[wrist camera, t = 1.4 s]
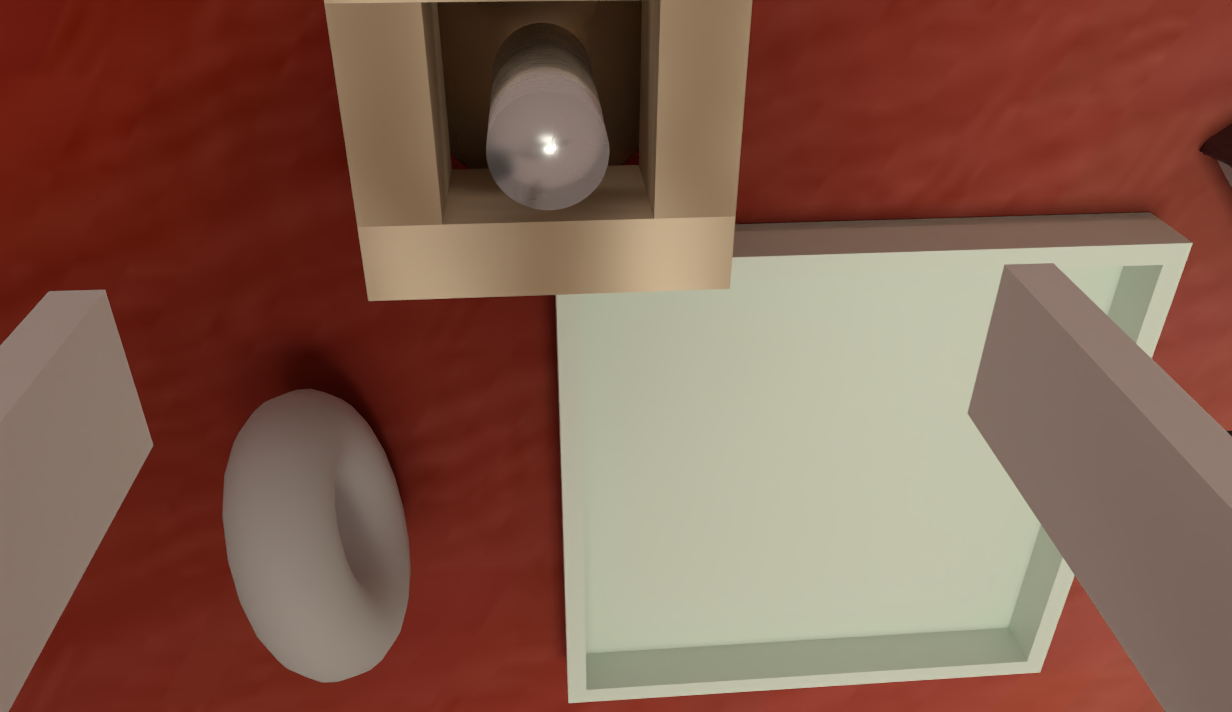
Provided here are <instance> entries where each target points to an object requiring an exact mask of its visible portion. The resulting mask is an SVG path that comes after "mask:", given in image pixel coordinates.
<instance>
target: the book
mask: <svg viewBox="0 0 1232 712" xmlns="http://www.w3.org/2000/svg"><path fill="white" fill-rule="evenodd" d="M1200 151H1201V152H1203V154H1204V155H1206V154H1207V155H1209V156H1211V157H1213V158H1214V159H1216V160H1217V161H1218V163H1219V165H1220V167H1221V169H1222V171H1223V173H1224V174H1225V176H1226V178H1227V180H1228V182H1229V184H1230V186H1231V188H1232V124H1231V125H1229V126H1228V127H1226V128H1225V129H1223V130H1222V131H1220V132H1219V133H1217V134H1216V135H1214V136H1213V137H1211V138H1210V139H1209V140H1208V141H1207V142H1206V143H1205V144H1204V146H1203V147H1202V148H1201V150H1200Z"/></svg>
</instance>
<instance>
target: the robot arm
mask: <svg viewBox="0 0 1232 712" xmlns="http://www.w3.org/2000/svg"><path fill="white" fill-rule="evenodd" d="M967 414H968V415H969V417H970V418H971V420H972V421H973V423H974V424H975V426H976V427H977V429H978V430H979V432H980V433H981V435H982V436H983V438H984V439H985V441H986V442H987V444H988V445H989V447H990V448H991V450H992V451H993V453H994V454H995V456H996V457H997V459H998V460H999V462H1000V463H1001V465H1002V466H1003V468H1004V469H1005V471H1006V472H1007V474H1008V475H1009V477H1010V478H1011V480H1012V482H1013V483H1014V485H1015V486H1016V488H1017V489H1018V491H1019V492H1020V494H1021V495H1022V497H1023V498H1024V500H1025V501H1026V503H1027V504H1028V506H1029V507H1030V509H1031V510H1032V512H1033V513H1034V515H1035V516H1036V518H1037V519H1038V521H1039V522H1040V524H1041V525H1042V527H1043V528H1044V530H1045V531H1046V533H1047V534H1048V536H1049V537H1050V539H1051V540H1052V542H1053V543H1054V545H1055V546H1056V548H1057V549H1058V551H1059V552H1060V554H1061V555H1062V557H1063V558H1064V560H1065V561H1066V563H1067V564H1068V566H1069V567H1070V569H1071V570H1072V572H1073V573H1074V575H1075V576H1076V578H1077V579H1078V581H1079V582H1080V584H1081V585H1082V587H1083V588H1084V590H1085V591H1086V593H1087V594H1088V596H1089V597H1090V599H1091V600H1092V602H1093V603H1094V605H1095V607H1096V608H1097V610H1098V611H1099V613H1100V614H1101V616H1102V617H1103V619H1104V620H1105V622H1106V623H1107V625H1108V626H1109V628H1110V629H1111V631H1112V632H1113V634H1114V635H1115V637H1116V638H1117V640H1118V641H1119V643H1120V644H1121V646H1122V647H1123V649H1124V650H1125V652H1126V653H1127V655H1128V656H1129V658H1130V659H1131V661H1132V662H1133V664H1134V665H1135V667H1136V668H1137V670H1138V671H1139V673H1140V674H1141V676H1142V677H1143V679H1144V680H1145V682H1146V683H1147V685H1148V686H1149V688H1150V689H1151V691H1152V692H1153V694H1154V695H1155V697H1156V698H1157V700H1158V701H1159V703H1160V704H1161V706H1162V707H1163V709H1164V710H1165V712H1232V431H1226V430H1225V429H1223V428H1222V427H1221V426H1220V425H1219V424H1218V423H1217V422H1216V421H1215V420H1214V419H1213V418H1212V417H1211V416H1210V415H1209V414H1208V413H1207V412H1206V411H1205V410H1204V409H1203V408H1202V407H1201V406H1200V405H1199V404H1198V403H1197V402H1196V401H1195V400H1194V399H1193V398H1192V397H1191V396H1190V395H1189V394H1187V393H1186V392H1185V391H1184V390H1183V389H1182V388H1181V387H1180V386H1179V385H1178V384H1177V383H1176V382H1175V381H1174V380H1173V379H1172V378H1171V377H1170V376H1169V375H1168V374H1167V373H1166V372H1165V371H1164V370H1163V369H1162V368H1161V367H1160V366H1159V365H1158V364H1157V363H1156V362H1155V361H1154V360H1152V359H1151V358H1150V357H1149V356H1148V355H1147V354H1146V353H1145V352H1144V351H1143V350H1142V349H1141V348H1140V347H1139V346H1138V345H1137V344H1136V343H1135V342H1134V341H1133V340H1132V339H1131V338H1130V337H1129V336H1128V335H1127V334H1126V333H1125V332H1124V331H1123V330H1122V329H1121V328H1120V327H1119V326H1118V325H1116V324H1115V323H1114V322H1113V321H1112V320H1111V319H1110V318H1109V317H1108V316H1107V315H1106V314H1105V313H1104V312H1103V311H1102V310H1101V309H1100V308H1099V307H1098V306H1097V305H1096V304H1095V303H1094V302H1093V301H1092V300H1091V299H1090V298H1089V297H1088V296H1087V295H1086V294H1085V293H1084V292H1083V291H1082V290H1080V289H1079V288H1078V287H1077V286H1076V285H1075V284H1074V283H1073V282H1072V281H1071V280H1070V279H1069V278H1068V277H1067V276H1066V275H1065V274H1064V273H1063V272H1062V271H1061V270H1060V269H1059V268H1058V267H1057V266H1056V265H1055V264H1054V263H1041V264H1006V265H1004V268H1003V272H1002V276H1001V280H1000V284H999V288H998V292H997V296H996V300H995V304H994V308H993V312H992V316H991V320H990V324H989V328H988V332H987V337H986V341H985V345H984V349H983V353H982V357H981V361H980V365H979V369H978V373H977V377H976V381H975V385H974V389H973V393H972V397H971V401H970V405H969V409H968V413H967ZM152 447H153V442H152V439H151V436H150V433H149V429H148V426H147V423H146V420H145V417H144V413H143V410H142V407H141V404H140V400H139V397H138V394H137V391H136V388H135V384H134V381H133V378H132V375H131V372H130V368H129V365H128V362H127V359H126V355H125V352H124V349H123V346H122V343H121V339H120V336H119V333H118V330H117V326H116V323H115V320H114V317H113V314H112V310H111V307H110V304H109V301H108V297H107V294H106V291H105V290H77V291H49V292H48V293H47V294H46V295H45V296H44V297H43V298H42V300H41V301H40V302H39V303H38V304H37V305H36V306H35V307H34V309H33V310H32V311H31V312H30V313H29V314H28V315H27V316H26V317H25V319H24V320H23V321H22V322H21V323H20V324H19V325H18V326H17V328H16V329H15V330H14V331H13V332H12V333H11V334H10V335H9V337H8V338H7V339H6V340H5V341H4V342H3V343H2V344H1V345H0V712H9V710H10V708H11V706H12V705H13V703H14V701H15V699H16V697H17V695H18V694H19V692H20V690H21V688H22V686H23V684H24V683H25V681H26V679H27V677H28V675H29V673H30V671H31V670H32V668H33V666H34V664H35V662H36V660H37V659H38V657H39V655H40V653H41V651H42V649H43V648H44V646H45V644H46V642H47V640H48V638H49V636H50V635H51V633H52V631H53V629H54V627H55V625H56V624H57V622H58V620H59V618H60V616H61V614H62V613H63V611H64V609H65V607H66V605H67V603H68V602H69V600H70V598H71V596H72V594H73V592H74V590H75V589H76V587H77V585H78V583H79V581H80V579H81V578H82V576H83V574H84V572H85V570H86V568H87V567H88V565H89V563H90V561H91V559H92V557H93V555H94V554H95V552H96V550H97V548H98V546H99V544H100V543H101V541H102V539H103V537H104V535H105V533H106V532H107V530H108V528H109V526H110V524H111V522H112V521H113V519H114V517H115V515H116V513H117V511H118V509H119V508H120V506H121V504H122V502H123V500H124V498H125V497H126V495H127V493H128V491H129V489H130V487H131V486H132V484H133V482H134V480H135V478H136V476H137V475H138V473H139V471H140V469H141V467H142V465H143V463H144V462H145V460H146V458H147V456H148V454H149V452H150V451H151V449H152Z"/></svg>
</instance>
